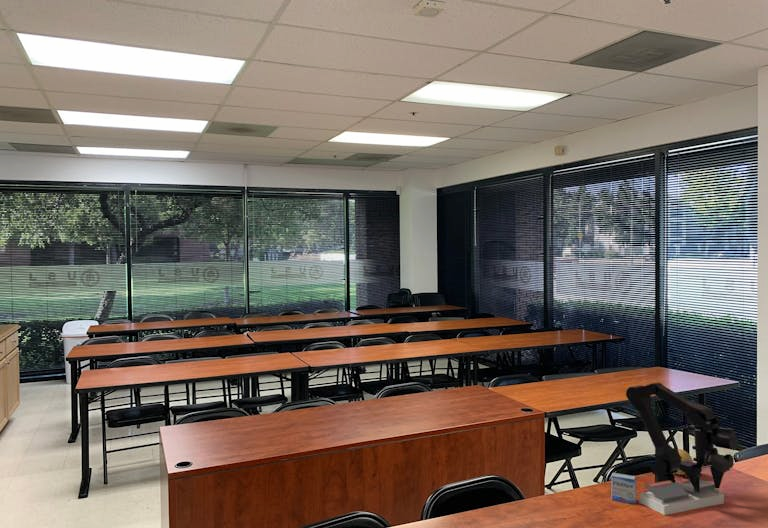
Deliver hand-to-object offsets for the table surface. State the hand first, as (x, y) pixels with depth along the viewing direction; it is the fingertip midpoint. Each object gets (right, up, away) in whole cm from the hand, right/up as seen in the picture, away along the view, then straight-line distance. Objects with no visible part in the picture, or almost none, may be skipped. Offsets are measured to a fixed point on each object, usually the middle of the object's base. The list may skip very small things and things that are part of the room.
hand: (707, 490), depth 192 cm
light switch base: (-8, -5, +2) cm, 10 cm away
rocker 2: (-2, -1, +4) cm, 5 cm away
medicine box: (-27, -6, +5) cm, 28 cm away
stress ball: (+6, -6, +29) cm, 30 cm away
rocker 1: (-14, -1, 0) cm, 14 cm away
